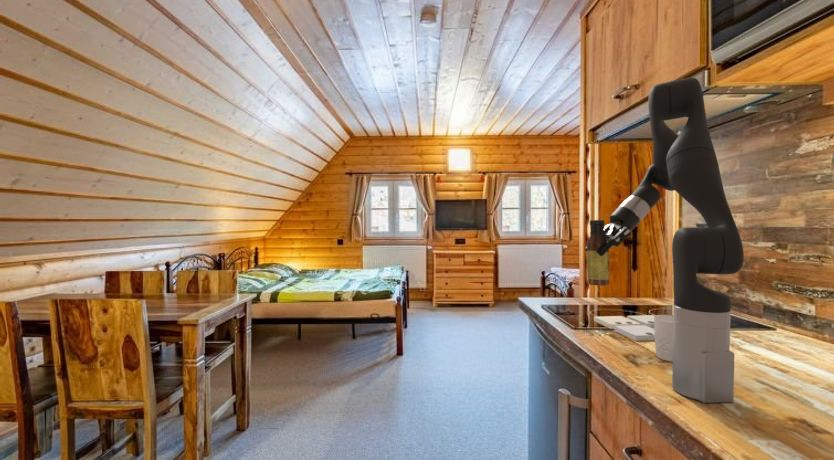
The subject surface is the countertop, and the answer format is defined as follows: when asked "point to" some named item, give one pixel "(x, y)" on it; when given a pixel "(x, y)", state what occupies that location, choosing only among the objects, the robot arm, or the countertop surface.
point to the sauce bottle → (597, 255)
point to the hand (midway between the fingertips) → (592, 252)
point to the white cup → (664, 336)
